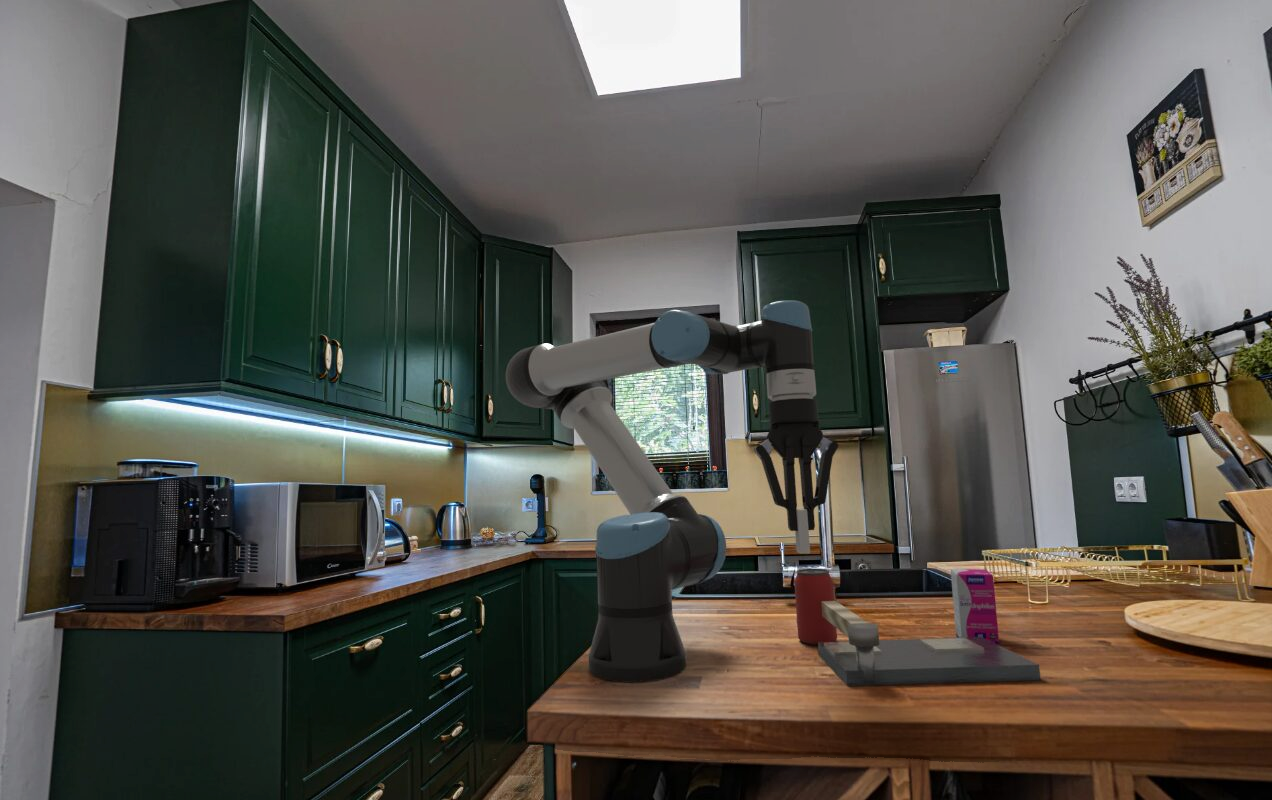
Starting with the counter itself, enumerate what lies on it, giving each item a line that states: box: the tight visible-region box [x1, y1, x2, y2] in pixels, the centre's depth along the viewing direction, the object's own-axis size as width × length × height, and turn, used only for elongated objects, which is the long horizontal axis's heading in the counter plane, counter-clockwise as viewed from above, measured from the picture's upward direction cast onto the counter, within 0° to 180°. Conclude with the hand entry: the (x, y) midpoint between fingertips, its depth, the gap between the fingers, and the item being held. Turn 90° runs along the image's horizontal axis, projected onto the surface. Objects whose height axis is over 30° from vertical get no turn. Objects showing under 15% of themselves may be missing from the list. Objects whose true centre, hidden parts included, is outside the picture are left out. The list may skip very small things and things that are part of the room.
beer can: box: [794, 568, 838, 646], centre depth 116 cm, size 7×7×12 cm
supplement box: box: [950, 568, 1000, 646], centre depth 112 cm, size 6×6×12 cm
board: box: [817, 637, 1042, 687], centre depth 98 cm, size 26×16×2 cm, turn 88°
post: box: [855, 646, 875, 687], centre depth 92 cm, size 2×2×5 cm
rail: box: [821, 600, 880, 647], centre depth 100 cm, size 20×4×2 cm, turn 178°
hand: (803, 552), depth 101 cm, fingers closed
